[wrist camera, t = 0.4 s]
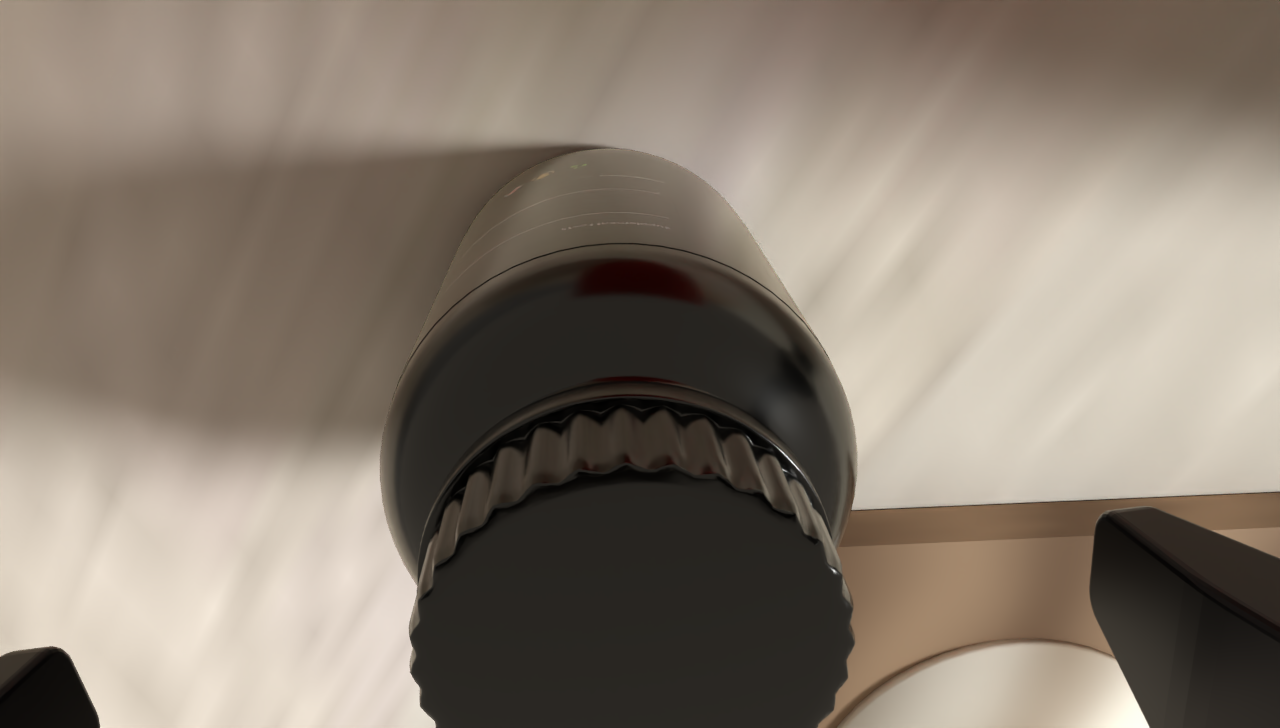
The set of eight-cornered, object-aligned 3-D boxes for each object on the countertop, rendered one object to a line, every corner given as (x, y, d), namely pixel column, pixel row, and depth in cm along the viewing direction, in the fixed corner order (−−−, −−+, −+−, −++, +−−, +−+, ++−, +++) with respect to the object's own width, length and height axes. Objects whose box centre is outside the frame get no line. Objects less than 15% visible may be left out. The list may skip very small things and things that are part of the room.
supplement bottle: (799, 368, 22) (1015, 788, 11) (530, 468, 23) (479, 959, 12) (698, 85, 19) (851, 266, 8) (397, 210, 20) (164, 530, 9)
